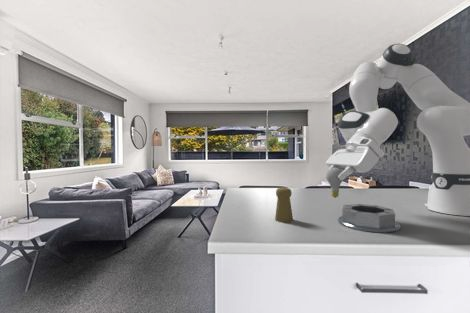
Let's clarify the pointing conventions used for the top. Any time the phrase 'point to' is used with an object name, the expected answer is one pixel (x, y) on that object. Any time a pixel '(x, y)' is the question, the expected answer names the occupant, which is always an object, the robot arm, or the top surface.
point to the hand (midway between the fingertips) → (333, 177)
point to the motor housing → (369, 218)
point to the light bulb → (334, 180)
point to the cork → (283, 205)
